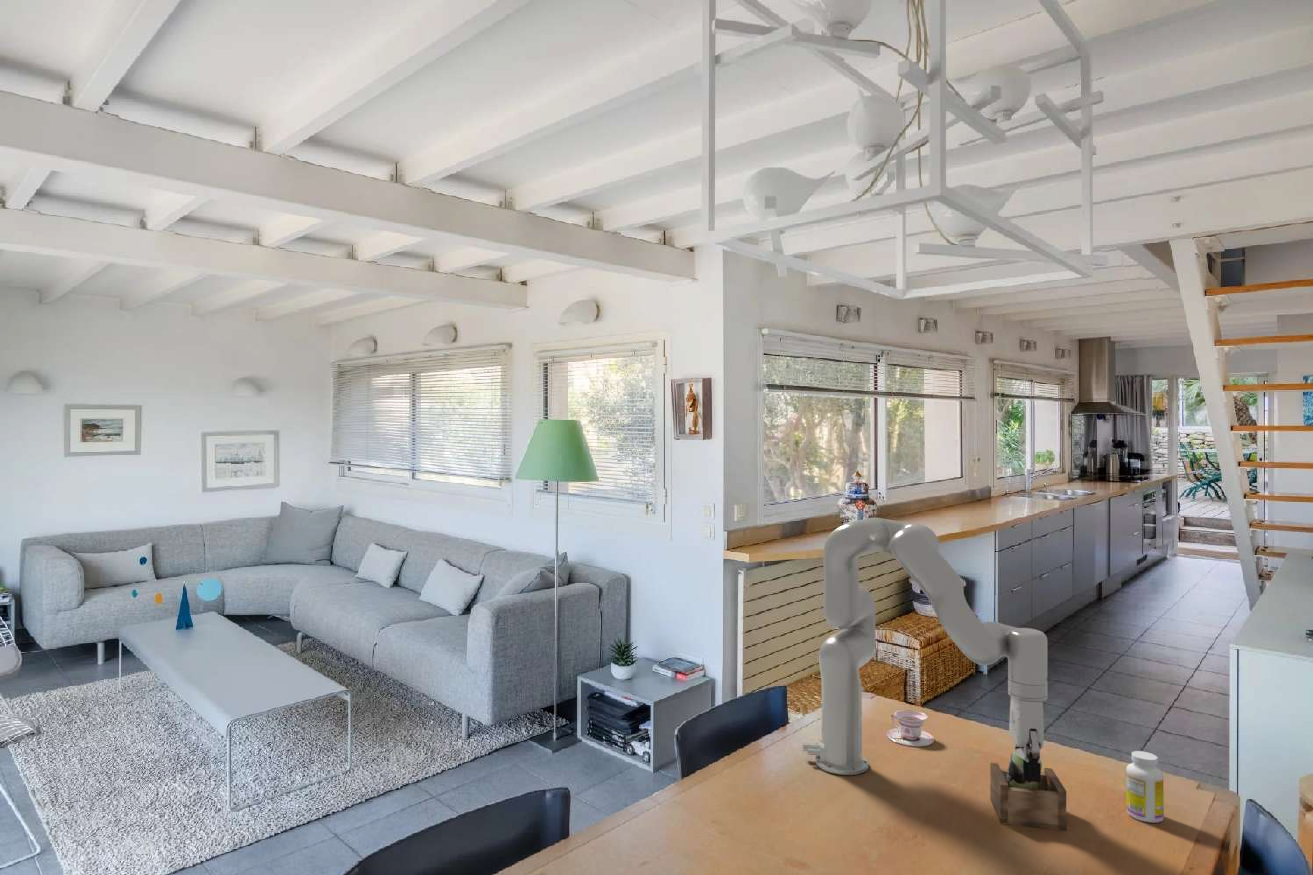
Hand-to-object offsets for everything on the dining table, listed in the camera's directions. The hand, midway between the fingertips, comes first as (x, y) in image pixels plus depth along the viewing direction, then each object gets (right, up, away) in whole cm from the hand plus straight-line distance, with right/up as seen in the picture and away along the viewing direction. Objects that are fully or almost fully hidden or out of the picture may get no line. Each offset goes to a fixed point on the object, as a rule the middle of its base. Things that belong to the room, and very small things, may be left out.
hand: (1027, 772), depth 163 cm
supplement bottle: (+24, -9, 0) cm, 26 cm away
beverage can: (-1, -8, +1) cm, 8 cm away
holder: (0, -9, 0) cm, 9 cm away
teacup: (-11, -9, +42) cm, 44 cm away
